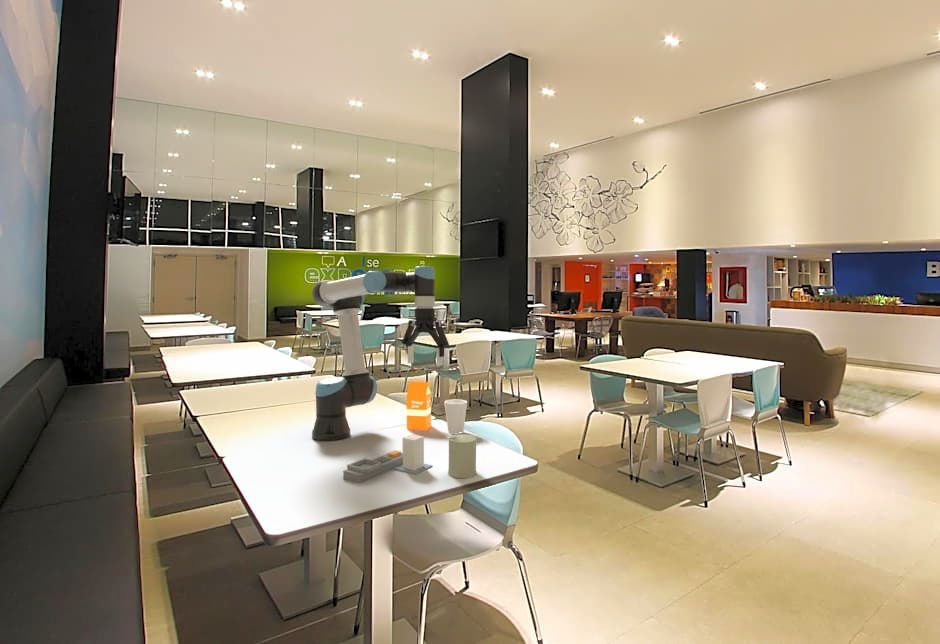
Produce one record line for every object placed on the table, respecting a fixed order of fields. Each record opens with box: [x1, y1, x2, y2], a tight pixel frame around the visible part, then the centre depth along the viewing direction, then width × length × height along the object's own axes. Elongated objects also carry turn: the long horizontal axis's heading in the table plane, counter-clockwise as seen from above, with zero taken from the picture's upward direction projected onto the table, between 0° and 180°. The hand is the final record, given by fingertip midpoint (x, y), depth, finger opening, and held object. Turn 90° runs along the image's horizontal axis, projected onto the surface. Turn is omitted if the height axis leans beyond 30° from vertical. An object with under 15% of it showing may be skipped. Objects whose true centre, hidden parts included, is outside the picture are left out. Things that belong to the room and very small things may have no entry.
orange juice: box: [406, 381, 432, 431], centre depth 221 cm, size 8×9×20 cm
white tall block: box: [402, 434, 425, 470], centre depth 169 cm, size 5×5×10 cm
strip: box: [342, 450, 403, 484], centre depth 168 cm, size 8×24×4 cm, turn 148°
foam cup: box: [444, 398, 468, 434], centre depth 213 cm, size 10×9×13 cm
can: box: [447, 433, 477, 479], centre depth 164 cm, size 9×9×12 cm
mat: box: [393, 463, 433, 475], centre depth 169 cm, size 9×9×1 cm
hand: (424, 364), depth 190 cm, fingers open, 13 cm apart
